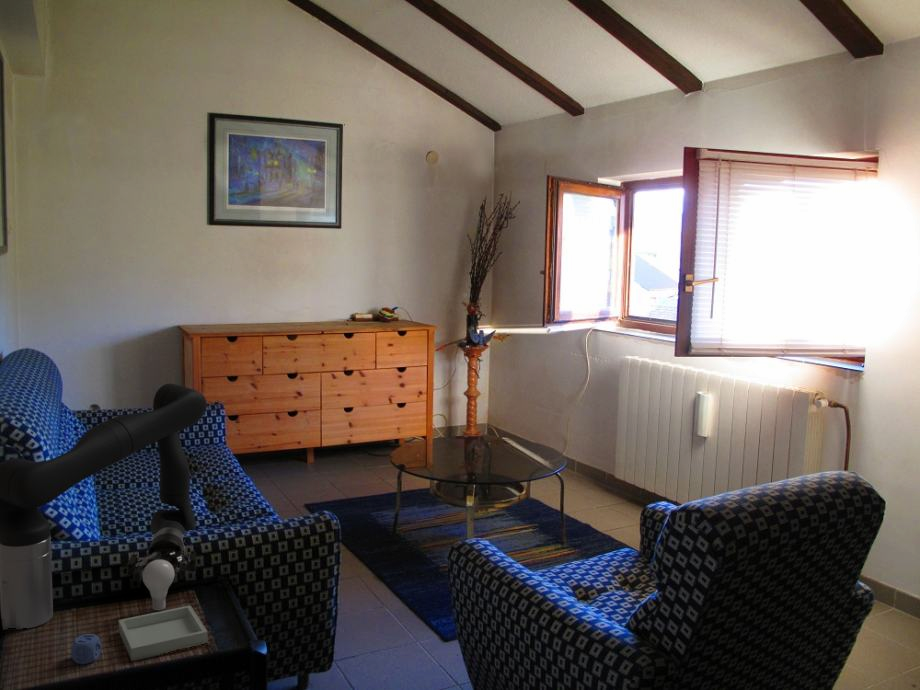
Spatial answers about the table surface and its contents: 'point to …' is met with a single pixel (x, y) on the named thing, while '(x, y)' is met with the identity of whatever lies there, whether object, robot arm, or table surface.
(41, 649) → the table surface
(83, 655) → the decorative dice
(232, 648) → the table surface
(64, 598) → the table surface
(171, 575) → the lightbulb
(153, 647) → the parts tray
